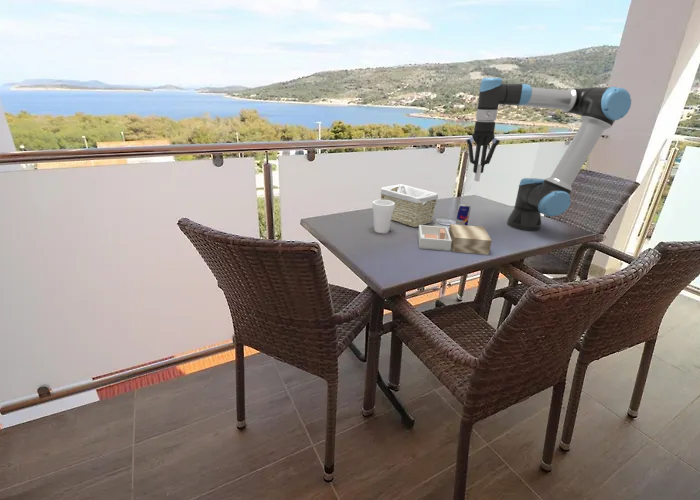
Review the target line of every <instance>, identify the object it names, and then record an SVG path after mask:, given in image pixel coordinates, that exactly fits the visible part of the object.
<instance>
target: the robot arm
mask: <svg viewBox="0 0 700 500" xmlns="http://www.w3.org/2000/svg"><path fill="white" fill-rule="evenodd" d="M478 93H479V94H478V103H477V108H476V113H475V114H476V115H475V120H476V121H474V122H475V123H474V129H473V134H472V136H470V137H469V138H466V140H465V141H466V143H467V147H468V157H469V162H470V164H472V165H473V169H472V171H473V173H474V181H475V182H480V179H481V174H483V173H484V169H485V166H486V165H489V164H490V162H491V161H492V158H493V155H494V152H495V150H496V148H497V146H498V145H499V144H500V140H499V139H498V138H496V137H495V128H496V122H495V121H496V120H497V114H498V109H499V106H501V105H503V106H517V107H518V106H520V107H521V106H522V107H530V108H531V107H532V108H542V109H552V110H560V111H561V112H562V113H569V114H574V115H577V116H580V118H581V121H582V123H581V124H580V126H579V128H578V130H577V131H576V133H575V135H574V136H573V137H572V140H571V142H570V143H569V145H568V147H567V149H566V150H565V152H564V153H563V155H562V157H561V158H560V160H559V162H558V164H557V165H556V167H555V169H554V171H553V172H552V174H551V175H550V177H547V178H538V177H537V178H532V177H524V178H522V179H521V180H520V181H519V184H518V190H517V194H516V199H515V204H514V206H513V207H514V208H513V210H512V211H511V213H510V214H509V216H508V217H507V220H506V221H507V222H506V224H507V225H508V226H509V227H511V228H514V229H516V230H517V229H518V230H521V231H528V232H529V231H530V232H531V231H534V232H535V231H540V230H541V228H542V216H541V215H543V216H548V217H557V216H560V215H562V214H564V213H565V212H566V211H567V210H568V209H569V207H570V206H571V202H572V200H571V199H572V198H571V196H570V195H571V193H572V191H573V188H572V184H573V182H574V181H575V179H576V178H577V176H578V173H580V171H581V169H582V167H583V166H584V164H585V162H586V161H587V159H588V157H589V156H590V155H591V153H592V151H593V149H594V148H595V146H596V144H597V143H598V141H599V140H600V138H601V136H602V134H603V133H604V131H606V130H608V129H610V128H612V126H613V125H614V124H615V122H616V121H618V120H620V119H622V118H624V117H625V116H626V115H628V113H629V111H630V109H631V106H632V98H631V94H630V91H628V90H627V89H625V88H623V87H617V86H611V87H610V86H608V87H606V86H605V87H603V86H602V87H596V86H595V87H586V88H585V87H584V88H573V87H572V88H571V87H570V88H568V89H567V90H566V89H557V88H556V89H553V88H546V87H545V88H543V87H536V86H535V87H534V86H533V87H532V86H531V85H530V84H527V83H503V78H502V77H483V78H482V80H481V82H480V86H479V90H478ZM473 143H475V147H476V148H475V153H474V150H473V149H474V148H473ZM490 144H491V146H490V149H489V151H488V146H489V145H490ZM481 148H482V149H481ZM487 152H488V154H487ZM480 154H481V157H480ZM479 161H480V164H479Z"/></svg>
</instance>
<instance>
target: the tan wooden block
mask: <svg viewBox="0 0 700 500" xmlns="http://www.w3.org/2000/svg"><path fill="white" fill-rule="evenodd" d="M448 231H449V234H450V237H451V240H452V242H451V251H452V252H454V253H455V252H456V253H466V254H477V255H485V256H486V255H490V251H491V247H492V242H493V240H492V239H491V237H490V235H489V233H488V232H487V231H486V229H485V227H484V226H478V225H475V226H474V225H468V226H467V225H455V223H454V224H453V223H451V224H449V229H448Z"/></svg>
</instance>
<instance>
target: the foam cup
mask: <svg viewBox="0 0 700 500" xmlns="http://www.w3.org/2000/svg"><path fill="white" fill-rule="evenodd" d="M394 206H395V203H394V202H393V201H389V200H381V199H376V200H373V201H372V214H373V229H374V230H373V231H374V232H376V233H378V234H387V233H389V230H390V227H391V222H392V220H391V219H392V214H393V210H394Z"/></svg>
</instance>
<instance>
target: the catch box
mask: <svg viewBox="0 0 700 500" xmlns="http://www.w3.org/2000/svg"><path fill="white" fill-rule="evenodd" d="M440 229H445V239H433V238H425V234H432V235H437V238H438V236H439V230H440ZM417 239H418V247H419V250H420V249H421V250H432V251H442V252H443V251H444V252H451V250H452V248H451V242H452V240H451V237H450V234H449V229H448V227H447V226H435V225H426V224H424V225H419V226H418V231H417Z"/></svg>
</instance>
